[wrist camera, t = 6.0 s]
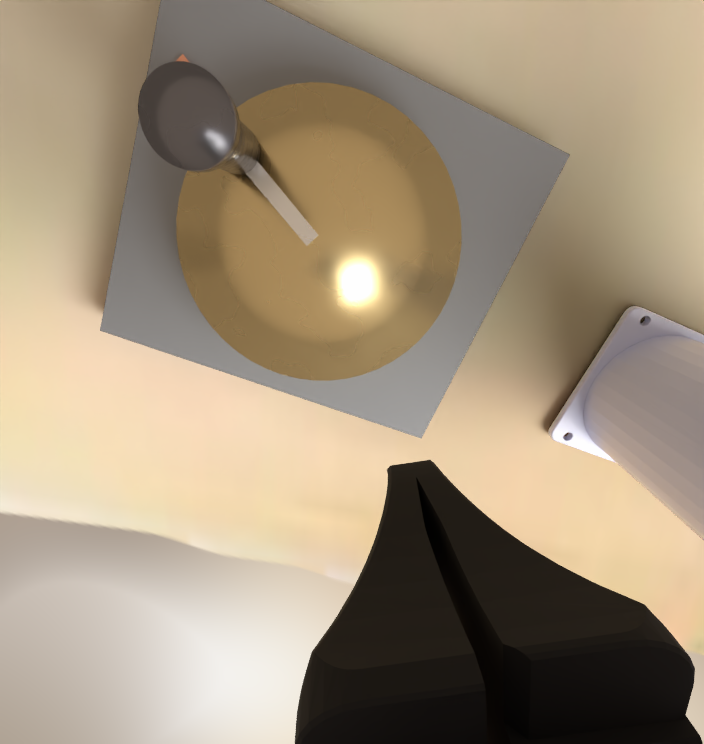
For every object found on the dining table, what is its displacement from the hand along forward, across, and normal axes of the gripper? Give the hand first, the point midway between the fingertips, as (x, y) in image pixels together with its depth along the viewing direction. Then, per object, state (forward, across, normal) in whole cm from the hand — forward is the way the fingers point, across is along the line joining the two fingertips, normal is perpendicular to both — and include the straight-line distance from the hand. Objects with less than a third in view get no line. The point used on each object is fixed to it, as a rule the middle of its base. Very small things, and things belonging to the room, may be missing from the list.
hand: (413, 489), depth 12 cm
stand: (+9, +2, -7) cm, 12 cm away
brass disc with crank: (+8, +2, -7) cm, 11 cm away
